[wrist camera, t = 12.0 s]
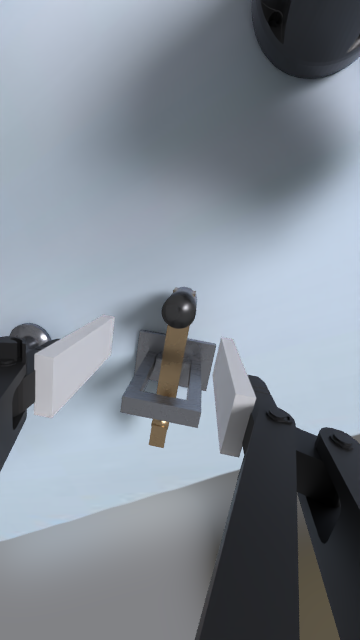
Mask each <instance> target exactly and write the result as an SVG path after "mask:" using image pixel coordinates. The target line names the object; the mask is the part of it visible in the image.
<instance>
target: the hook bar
mask: <svg viewBox="0 0 360 640" xmlns="http://www.w3.org/2000/svg"><path fill="white" fill-rule="evenodd" d="M196 305H197V297H196V291H193V290H192V289H190V288H188V287H180V288H175V289H174V290H173V293H172V294H171V296H170V297H169V298H168V299H167V300H166V302H165V303H164V305H163V307H162V317H163V319H164V321H165V322H166V323H167V324H168V326H167V332H166V338H165V344H164V351H163V357H162V363H161V369H160V375H159V381H158V388H157V394H158V395H163V396H168V397H173V398H176V395H177V389H178V384H179V379H180V373H181V368H182V363H183V358H184V352H185V347H186V342H187V336H188V331H189V326H190V324H191V323H192V322H193V321H194V319H195V315H196ZM168 425H169V422H166V421H161V420H156V419H153V421H152V424H151V426H152V428H151V434H150V441H149V445H152V446H156V447H161V448H164V443H165V438H166V433H167V429H168Z"/></svg>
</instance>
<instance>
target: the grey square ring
mask: <svg viewBox="0 0 360 640" xmlns="http://www.w3.org/2000/svg"><path fill="white" fill-rule="evenodd" d="M165 338H166V334H162V333H156V332H151V331H146V330H140V334H139V342H138V350H137V357H136V365H135V373H134V377H133V379H132V380H131V382H130V384H129V386H128V387H127V389H126V391H125V393H124V394H123V396H122V404H121V412H122V413H127V414H132V415H137V416H142V417H147V418H152V419H156V420H161V421H166V422H171V423H176V424H181V425H186V426H191V427H195V428H198V424H199V419H200V415H201V390H203V391H206V389H207V384H208V380H209V375H210V371H211V366H212V362H213V357H214V353H215V348H216V344H214V343H209V342H204V341H198V340H193V339H188V338H187V342H186V347H185V352H184V358H183V363H182V368H181V373H180V379H179V384H178V386H183V387H188V390H187V400H183V399H178V398H173V397H168V396H163V395H158V394H153V393H148V392H144V390H145V388H146V386H147V383H148V381H149V380H153V381H159V375H160V369H161V363H162V357H163V351H164V344H165Z"/></svg>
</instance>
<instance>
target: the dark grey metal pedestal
mask: <svg viewBox="0 0 360 640" xmlns="http://www.w3.org/2000/svg"><path fill="white" fill-rule="evenodd" d="M10 336H13V337H20V338H23V339H25V340H26V348H27V352H29V351H31V350H33V349H35V348H37V347H38V346H41V345H42V344H44V343H46V342H48V341H51V338H50V336H49V334H48V333H47V332H46V331H45V330H44V329H43V328H42V327H40V326H38V325H36V324H32V323H26V324H22V325H19V326H17V327H16V328H14V329H13V330H12V332H11V334H10Z"/></svg>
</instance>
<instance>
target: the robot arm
mask: <svg viewBox="0 0 360 640" xmlns="http://www.w3.org/2000/svg"><path fill="white" fill-rule="evenodd" d="M252 18H253V25H254V30H255V33H256V37H257V39H258V42H259V44H260V46H261V48H262V50H263V52H264V53H265V55H266V56H267V57H268V59H269V60H270V61H271V62H272V63H273V64H274V65H275V66H276V67H278V68H279V69H280V70H282V71H284V72H285V73H287V74H290V75H292V76H296V77H300V78H319V77H324V76H328V75H330V74H333V73H335V72H338V71H340V70H342V69H343V68H345V67H347V66H348V65H350V64H351V63H352V62H354V61H355V60H356V59H357V58H359V57H360V0H252ZM114 319H115V317H113V316H108V315H102V316H100V317H98V318H97V319H95V320H93V321H91V322H90V323H88V324H86V325H84V326H83V327H81V328H79V329H77V330H76V331H74V332H72V333H70V334H69V335H67V336H65V337H63V338H62V339H55V340H51V341H48V342H46V343H44V344H42V345H41V346H38V347H37V348H35V349H33V350H31V351H29V352H27V348H26V340H25V339H23V338H20V337H13V336H5V337H0V471H1V469H2V467H3V465H4V463H5V461H6V459H7V457H8V455H9V453H10V451H11V449H12V447H13V445H14V443H15V441H16V439H17V437H18V435H19V433H20V430H21V428H22V426H23V424H24V422H25V420H26V417H27V408H28V407H29V406H31V405H32V404H33V403H34V415H38V416H43V417H48V418H53V417H54V415H55V414H56V413H57V412H58V411H59V410H60V409H61V408H62V407H63V406H64V405H65V404H66V403H67V402H68V400H69V399H70V398H71V397H72V396H73V395H74V394H75V393H76V392H77V391H78V390H79V389H80V388H81V387H82V386H83V384H84V383H85V382H86V381H87V380H88V379H89V378H90V377H91V376H92V375H93V374H94V373H95V372H96V371H97V369H98V368H99V367H100V366H101V365H102V364H103V363H104V362H105V361H106V360H107V359H108V358H109V357H110V356H111V349H112V339H113V329H114ZM213 385H214V395H215V406H216V416H217V426H218V437H219V447H220V454H225V455H230V456H235V457H239V456H240V452H241V449H242V446H243V450H244V458H243V462H242V465H241V469H240V472H239V475H238V479H237V484H236V488H235V491H234V495H233V499H232V503H231V506H230V510H229V514H228V517H227V521H226V525H225V529H224V532H223V536H222V540H221V544H220V547H219V551H218V555H217V559H216V562H215V566H214V570H213V574H212V577H211V581H210V585H209V588H208V592H207V596H206V599H205V603H204V607H203V611H202V614H201V618H200V622H199V626H198V629H197V633H196V637H195V640H300V639H299V589H298V588H299V587H298V533H297V493H298V497H299V501H300V504H301V507H302V511H303V514H304V518H305V521H306V525H307V528H308V531H309V535H310V538H311V541H312V545H313V548H314V552H315V555H316V559H317V562H318V565H319V569H320V572H321V576H322V579H323V582H324V586H325V589H326V592H327V596H328V599H329V603H330V606H331V610H332V613H333V616H334V619H335V623H336V627H337V630H338V633H339V637H340V640H360V444H359V443H358V442H357V441H356V440H355V439H353V438H352V437H351V436H350V435H348V434H346V433H344V432H342V431H340V430H336V429H334V428H327V427H326V428H321V430H320V431H319V434H318V436H316V435H313V434H311V433H308V432H306V431H303V430H301V429H299V428H297V427H296V426H295V421H294V419H293V418H292V417H291V416H290V415H289V414H288V413H287V412H285V411H284V410H282V409H279V408H277V406H276V404H275V402H274V400H273V398H272V396H271V395H270V392H269V390H268V388H267V386H266V384H265V382H263V381H262V380H261V379H260V378H259V377H256V376H251V375H247V373H246V371H245V368H244V365H243V363H242V360H241V358H240V355H239V353H238V350H237V348H236V345H235V343H234V340H233V339H230V338H225V337H221V340H220V345H219V349H218V353H217V358H216V362H215V366H214V371H213Z"/></svg>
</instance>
